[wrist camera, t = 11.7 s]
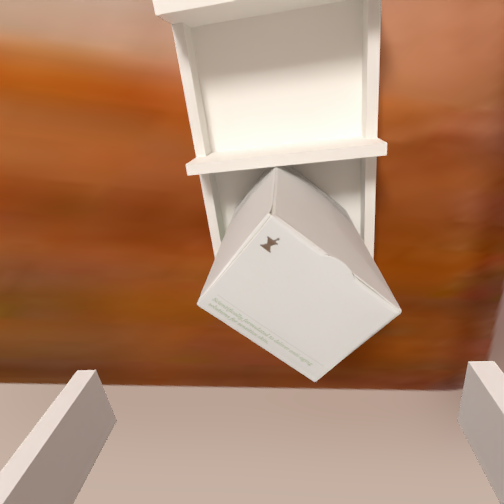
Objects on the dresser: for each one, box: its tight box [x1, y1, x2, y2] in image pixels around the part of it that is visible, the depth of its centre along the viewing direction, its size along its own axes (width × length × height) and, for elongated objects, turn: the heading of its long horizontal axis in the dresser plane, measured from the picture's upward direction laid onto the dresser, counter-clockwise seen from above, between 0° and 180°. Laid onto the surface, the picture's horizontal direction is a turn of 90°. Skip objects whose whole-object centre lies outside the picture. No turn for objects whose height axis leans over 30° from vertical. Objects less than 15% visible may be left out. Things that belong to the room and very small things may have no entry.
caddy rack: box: [153, 0, 387, 260], centre depth 27 cm, size 14×22×6 cm, turn 7°
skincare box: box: [197, 165, 402, 382], centre depth 23 cm, size 8×7×16 cm
